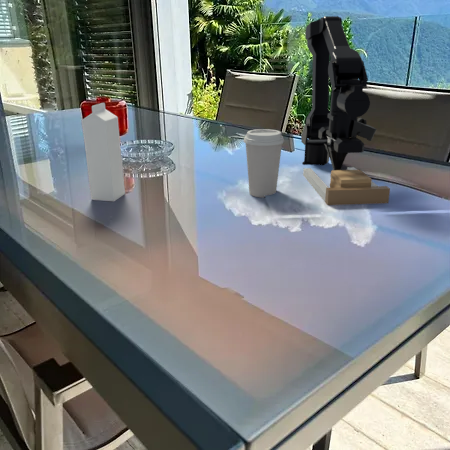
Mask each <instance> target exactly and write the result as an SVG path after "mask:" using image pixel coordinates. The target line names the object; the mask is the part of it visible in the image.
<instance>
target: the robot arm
mask: <svg viewBox="0 0 450 450" xmlns="http://www.w3.org/2000/svg"><path fill="white" fill-rule="evenodd" d="M342 25H343V19H342V17H339V16H338V15H335V16H333V15H332V16H331V15H329V16H328V15H327V16H322V17H321V18H319V19H317V20H314V21H310V22H309V23H308V25H306V27H305V35H304V36H305V40H306V45H307V49H308V50H309V53H311V56H312V88H311V89H312V91H311V92H312V93H311V94H312V95H311V97H312V100H311V110H310V111H309V113H308V115H307V117H306V120H305V124H304V126H303V129H302V132H301V134H300V135H301V137H300V139H301V141H300V142H301V143H302V144H303V145H304V161H303V162H302V165H304V166H305V165H306V166H308V165H311V166H312V165H315V166H325V165H327V164H329V161H330V163H331V166H332V170H342V166H343V164H344V162H345V159H346V157H347V155H348V154H351V153H353V154H354V153H356V154H358V153H361V154H363V153H364V151H365V143H364V141H362V140H361V139H360V138H363V139H366V140H367V141H369V142H371V141H372V140H373V138H374V137H375V136H374V135H375V134H376V132H377V128H375V127H374V126H372V125H369V124H367V119H365V118H362V117H363V116H364V115H365V114H366V113H367V112H368V110H369V109H370V106H371V101H370V100H371V99H370V97H369V95H368V94H367V93H366V92H365V91H363V88H367V86H368V81H369V79H368V75H367V74H368V73H367V71H366V70H367V69H366V67H365V62H364V60H363V59H362V56H361V55H360V53H359V52H358V51H357V50H356V49H353V48H351V46H350V44H349V42H348V38H347V35H346V34H345V31H344V28H343V26H342ZM330 84H331V89H332V90H331V96H330V95H329V90H330V89H329V87H330ZM329 97H331V98H330V109H329ZM357 136H358V137H360V138H358V137H357Z"/></svg>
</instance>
